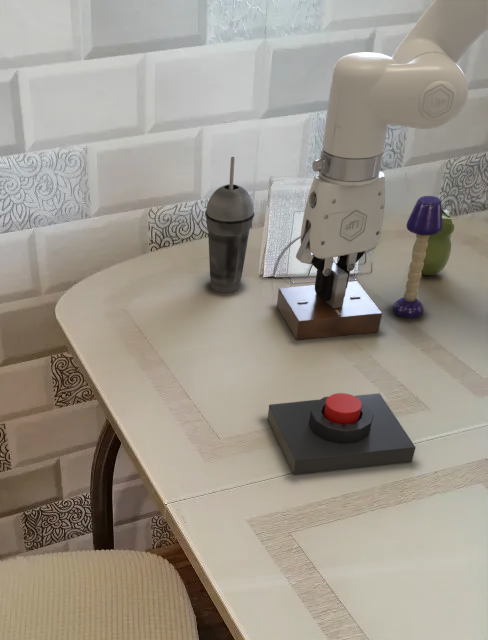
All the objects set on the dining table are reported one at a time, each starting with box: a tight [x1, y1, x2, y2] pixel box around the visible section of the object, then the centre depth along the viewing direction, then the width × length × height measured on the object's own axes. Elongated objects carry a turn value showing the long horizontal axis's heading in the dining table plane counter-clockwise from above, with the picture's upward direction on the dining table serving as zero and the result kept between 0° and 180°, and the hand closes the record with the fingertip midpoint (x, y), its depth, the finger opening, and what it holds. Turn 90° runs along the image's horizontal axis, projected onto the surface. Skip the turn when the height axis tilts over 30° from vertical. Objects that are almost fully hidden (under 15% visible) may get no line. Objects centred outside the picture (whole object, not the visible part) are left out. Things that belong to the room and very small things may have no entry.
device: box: [267, 392, 416, 476], centre depth 94 cm, size 14×11×4 cm
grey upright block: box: [325, 261, 348, 308], centre depth 113 cm, size 5×2×5 cm, turn 19°
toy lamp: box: [392, 195, 443, 319], centre depth 112 cm, size 5×5×17 cm
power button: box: [324, 392, 362, 425], centre depth 92 cm, size 4×4×2 cm
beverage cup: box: [204, 156, 255, 293], centre depth 119 cm, size 7×7×20 cm
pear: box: [411, 209, 455, 276], centre depth 123 cm, size 6×5×10 cm
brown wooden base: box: [276, 280, 383, 341], centre depth 115 cm, size 12×10×3 cm
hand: (329, 294), depth 114 cm, fingers closed
